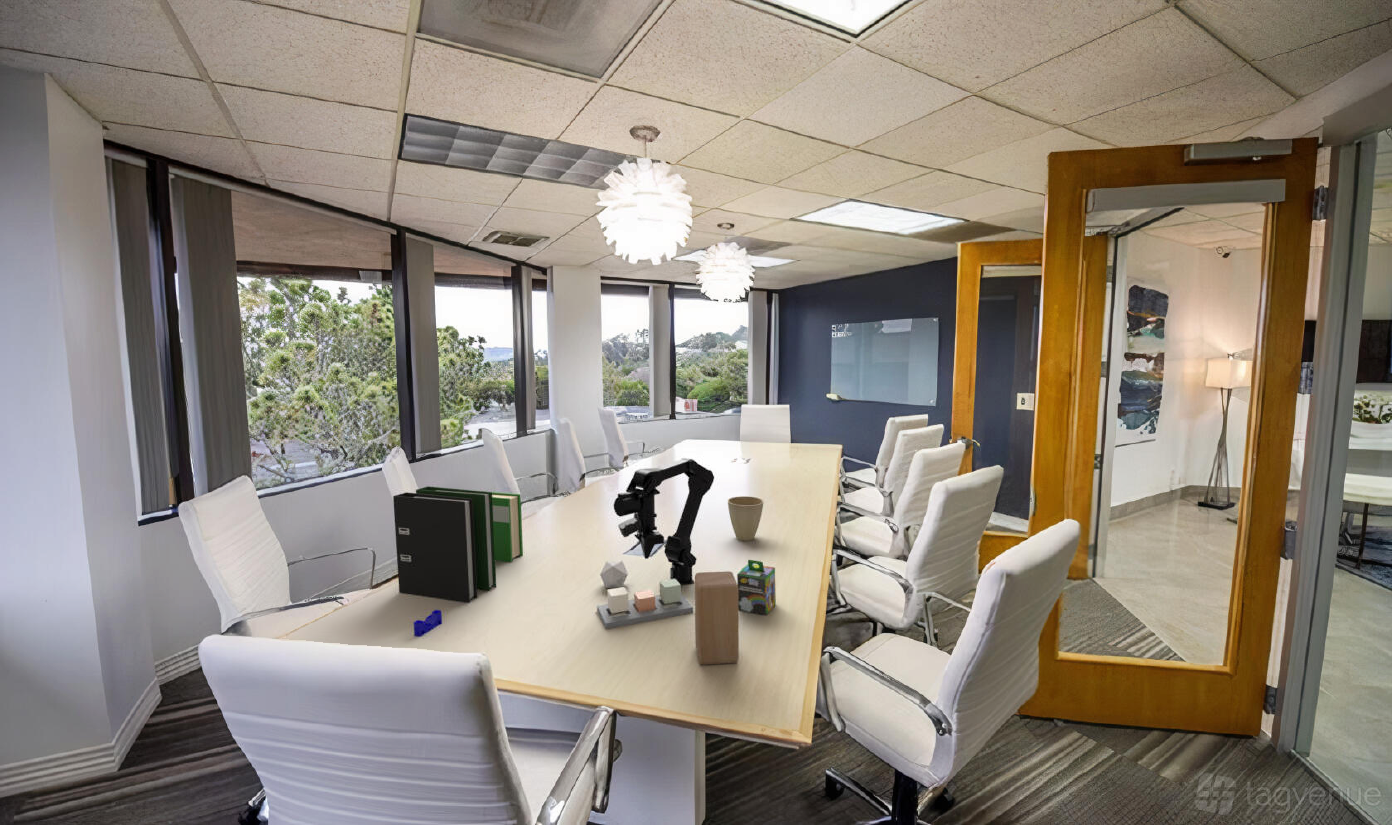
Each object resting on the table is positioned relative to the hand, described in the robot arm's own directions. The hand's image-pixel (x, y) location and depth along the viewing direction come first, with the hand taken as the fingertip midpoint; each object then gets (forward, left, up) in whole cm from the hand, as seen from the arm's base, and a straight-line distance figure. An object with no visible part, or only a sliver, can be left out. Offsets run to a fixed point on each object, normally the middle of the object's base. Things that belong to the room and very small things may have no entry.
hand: (646, 558), depth 174 cm
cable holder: (+63, -2, -12) cm, 65 cm away
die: (+8, -11, -12) cm, 18 cm away
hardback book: (+43, -56, -12) cm, 72 cm away
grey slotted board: (+4, +11, -12) cm, 17 cm away
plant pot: (-54, -38, -12) cm, 67 cm away
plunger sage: (-4, +11, -10) cm, 15 cm away
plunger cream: (+12, +11, -9) cm, 19 cm away
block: (-6, +41, -12) cm, 43 cm away
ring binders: (+59, -29, -12) cm, 67 cm away
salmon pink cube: (+4, +11, -12) cm, 17 cm away
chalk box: (-28, +21, -12) cm, 37 cm away
